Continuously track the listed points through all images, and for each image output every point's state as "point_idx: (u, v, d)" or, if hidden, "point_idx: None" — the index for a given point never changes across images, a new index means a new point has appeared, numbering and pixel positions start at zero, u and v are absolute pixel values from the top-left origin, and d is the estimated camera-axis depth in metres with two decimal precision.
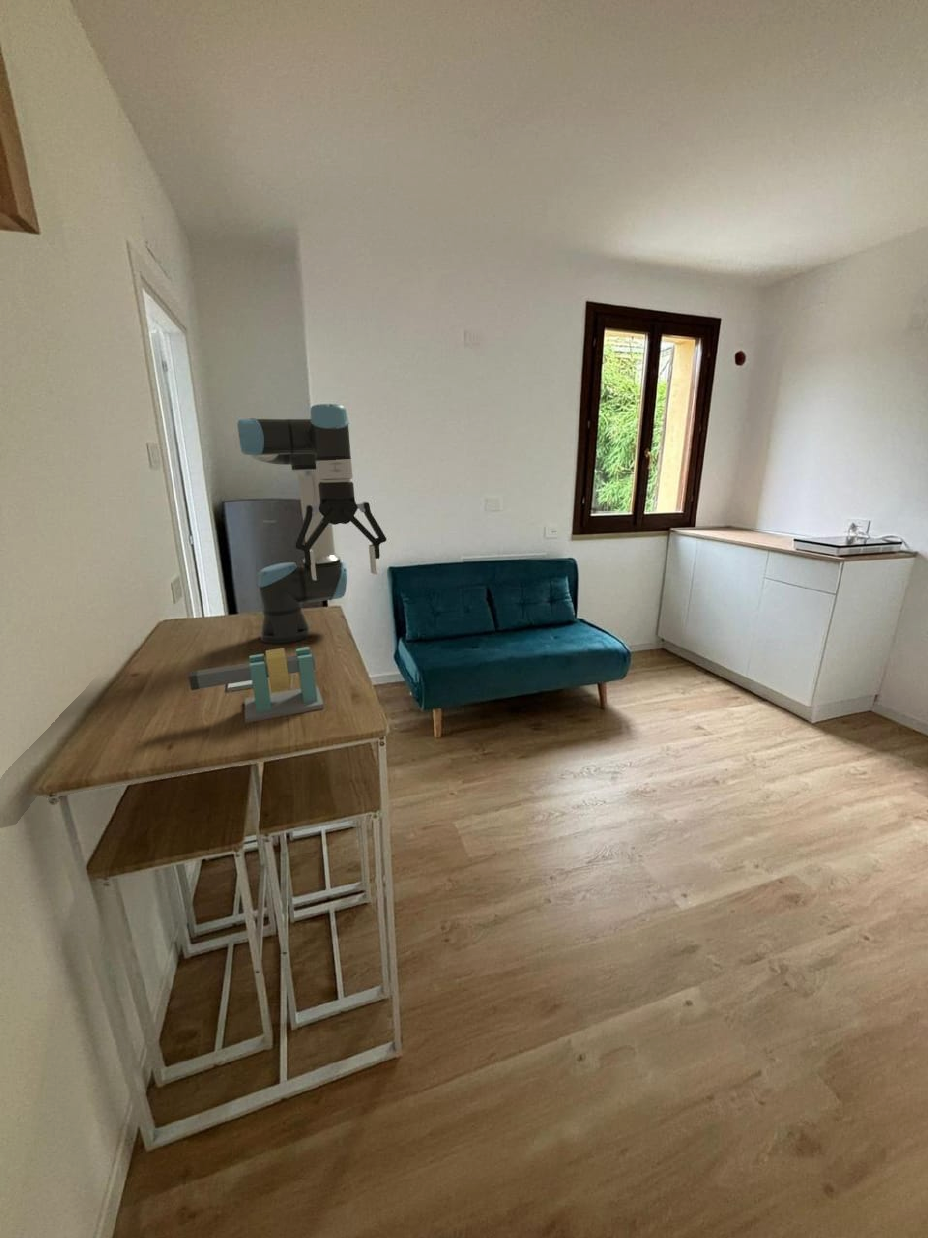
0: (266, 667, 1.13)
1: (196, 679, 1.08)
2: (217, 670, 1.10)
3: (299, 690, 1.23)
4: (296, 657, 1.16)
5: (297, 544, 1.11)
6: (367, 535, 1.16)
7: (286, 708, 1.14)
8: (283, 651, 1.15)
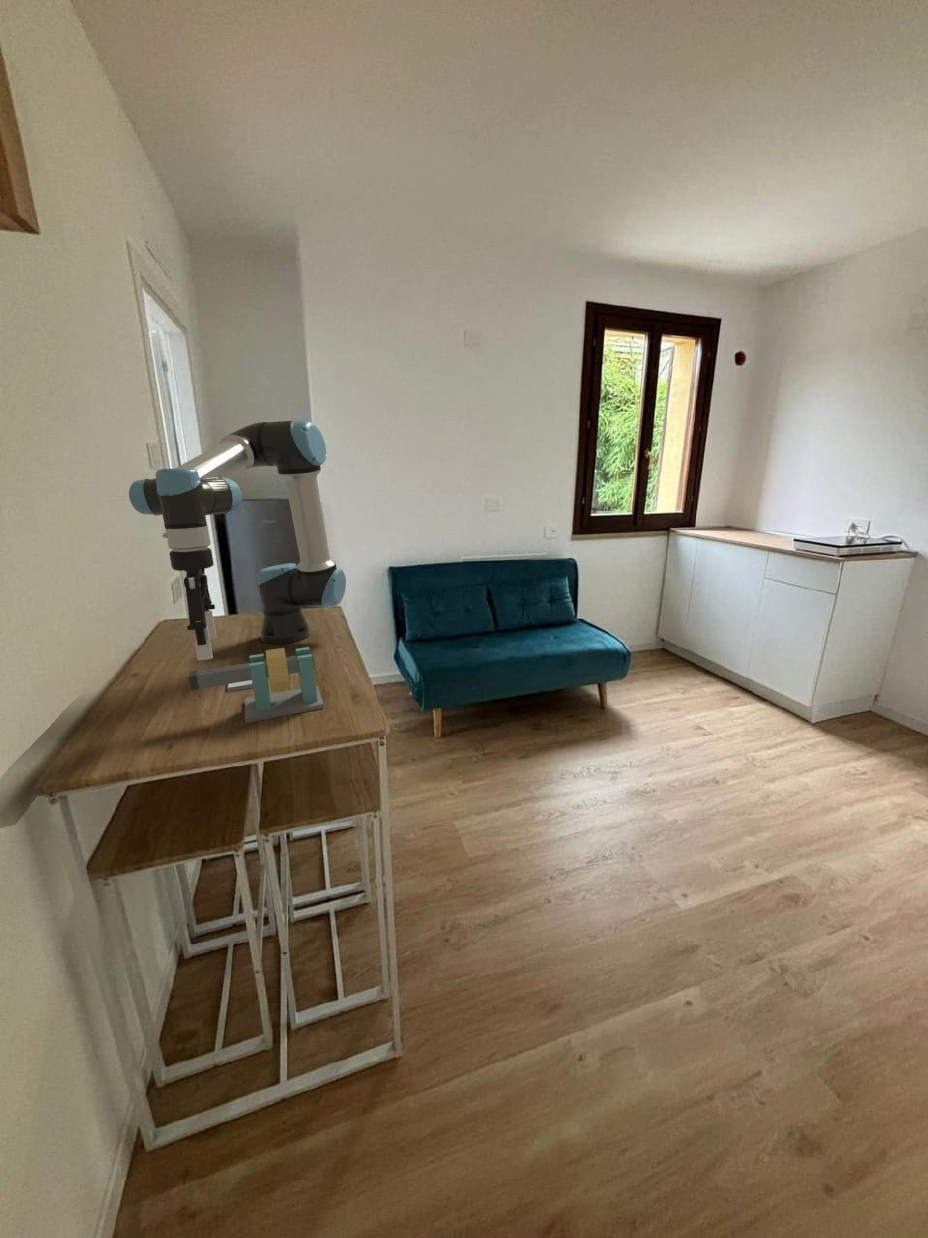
0: (266, 667, 1.13)
1: (196, 679, 1.08)
2: (217, 670, 1.10)
3: (299, 690, 1.23)
4: (296, 657, 1.16)
5: None
6: None
7: (286, 708, 1.14)
8: (283, 651, 1.15)
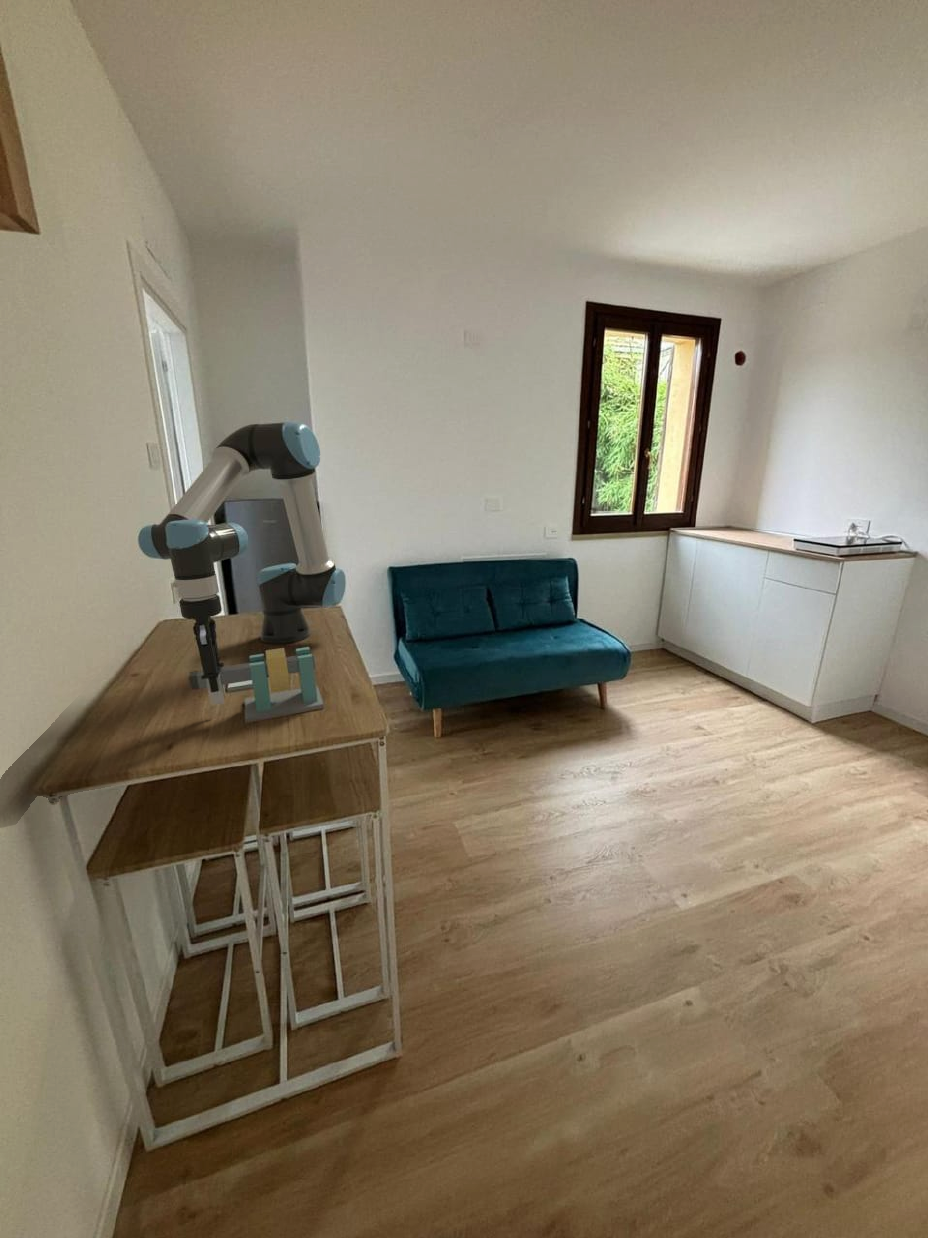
0: (266, 667, 1.13)
1: (196, 679, 1.08)
2: None
3: (299, 690, 1.23)
4: (296, 657, 1.16)
5: None
6: None
7: (286, 708, 1.14)
8: (283, 651, 1.15)
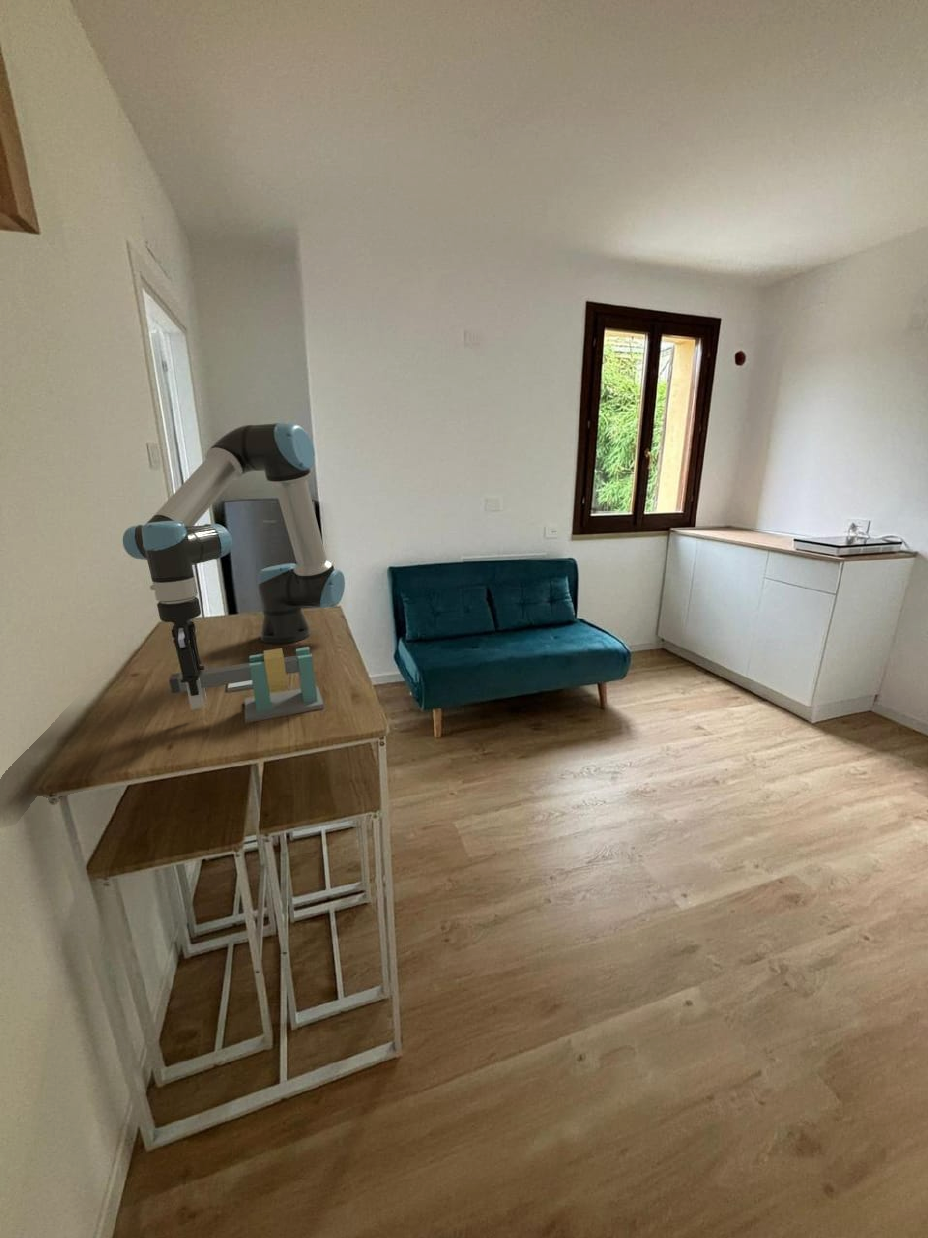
0: (248, 670, 1.11)
1: (177, 682, 1.06)
2: (199, 673, 1.09)
3: (299, 690, 1.23)
4: None
5: None
6: None
7: (286, 708, 1.14)
8: (281, 651, 1.15)
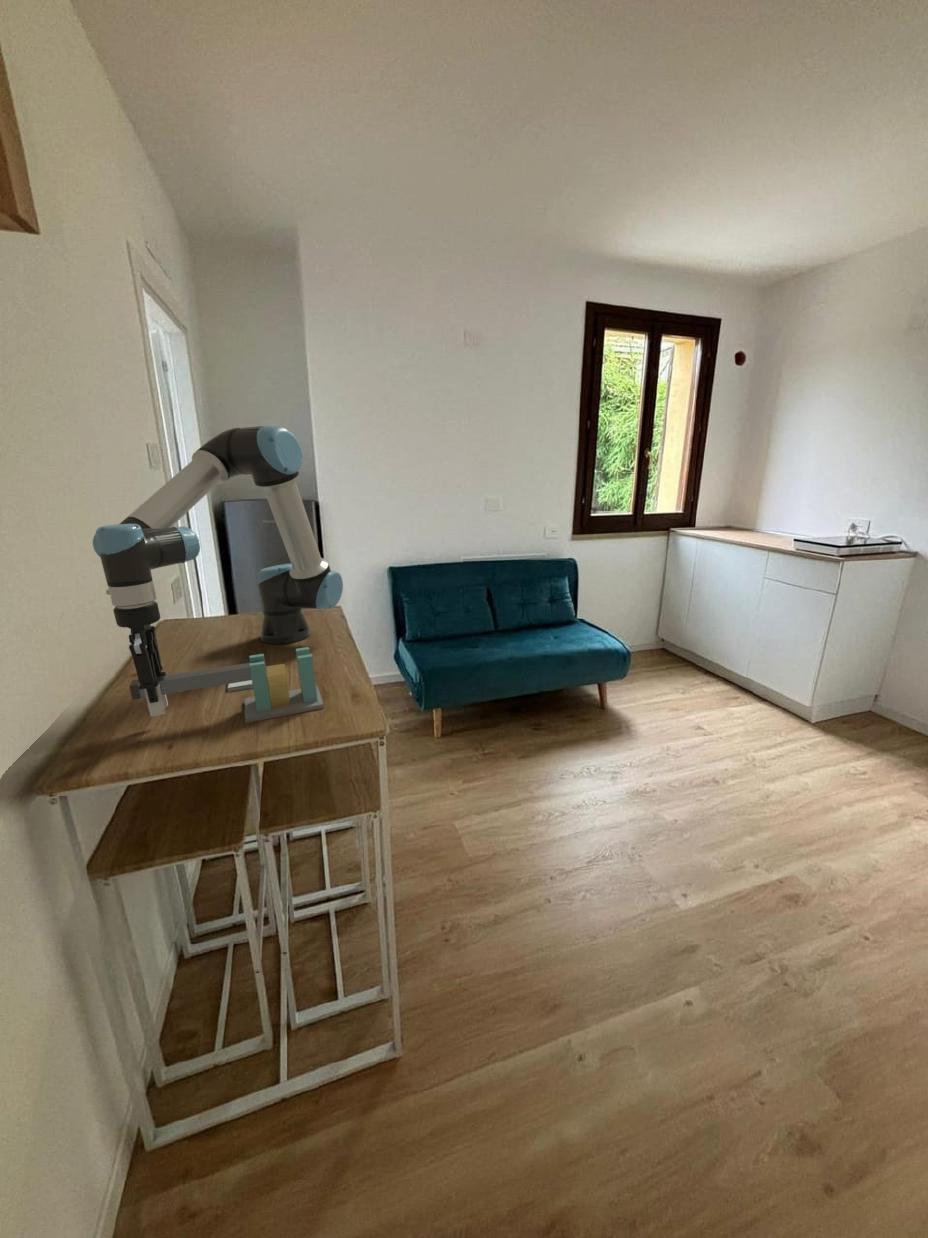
0: (212, 675, 1.09)
1: (137, 688, 1.04)
2: (160, 679, 1.06)
3: (299, 690, 1.23)
4: (245, 665, 1.12)
5: None
6: None
7: (286, 708, 1.14)
8: (283, 667, 1.16)
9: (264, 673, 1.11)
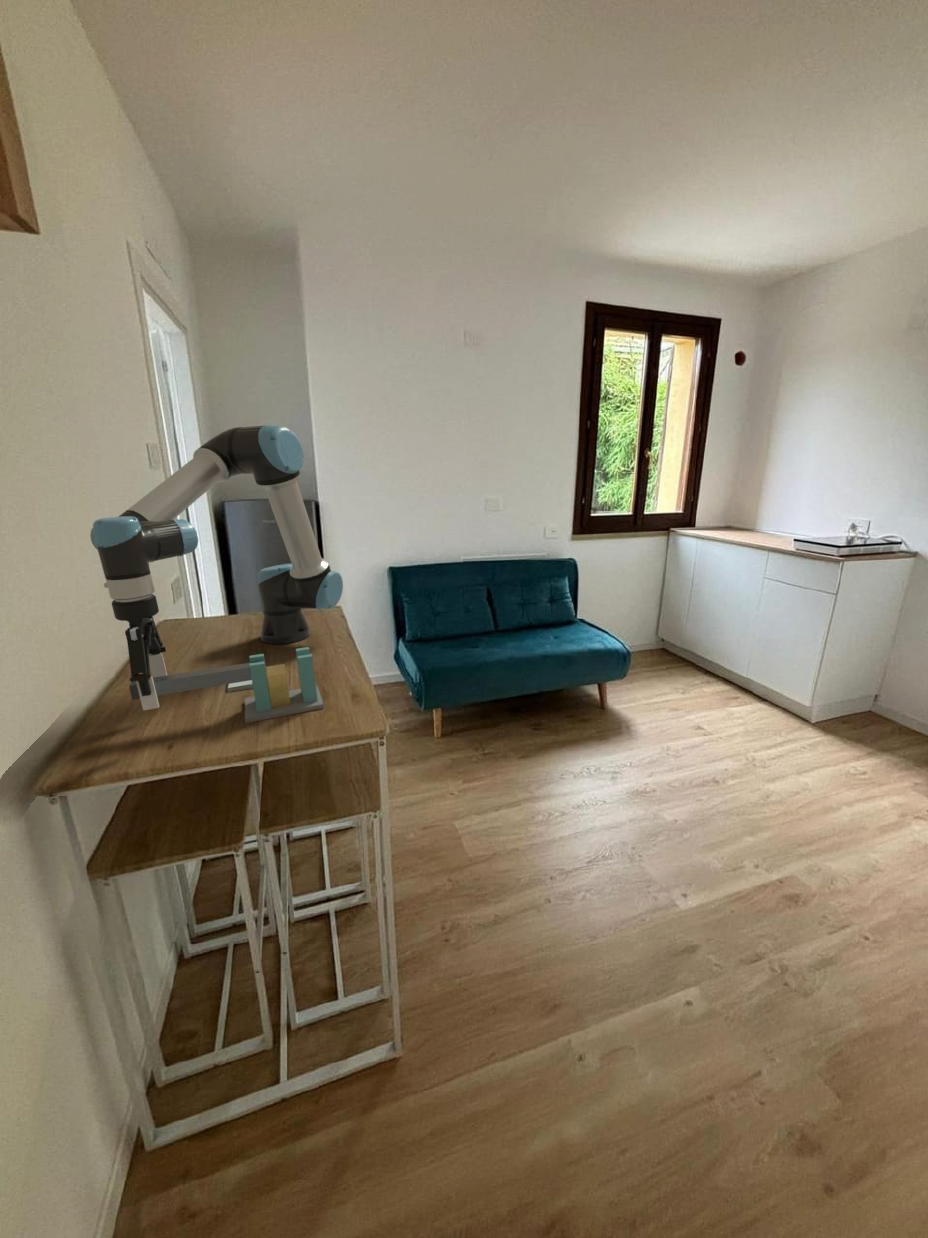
0: (212, 676, 1.09)
1: (137, 688, 1.04)
2: (160, 679, 1.06)
3: (299, 690, 1.23)
4: (245, 665, 1.12)
5: None
6: None
7: (286, 708, 1.14)
8: (283, 668, 1.16)
9: (264, 673, 1.11)
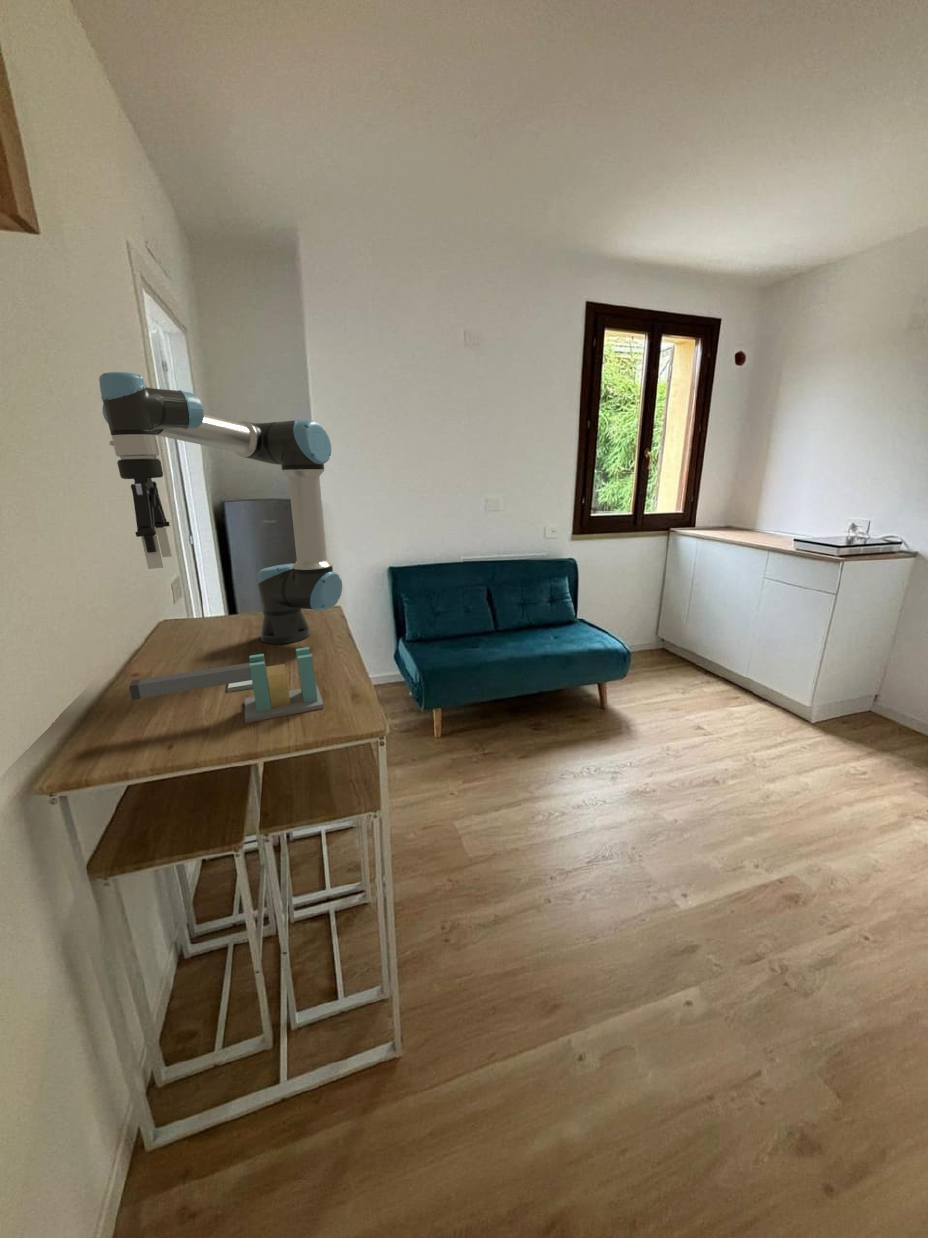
0: (212, 676, 1.09)
1: (137, 688, 1.04)
2: (160, 679, 1.06)
3: (299, 690, 1.23)
4: (245, 665, 1.12)
5: None
6: None
7: (286, 708, 1.14)
8: (283, 668, 1.16)
9: (264, 673, 1.11)
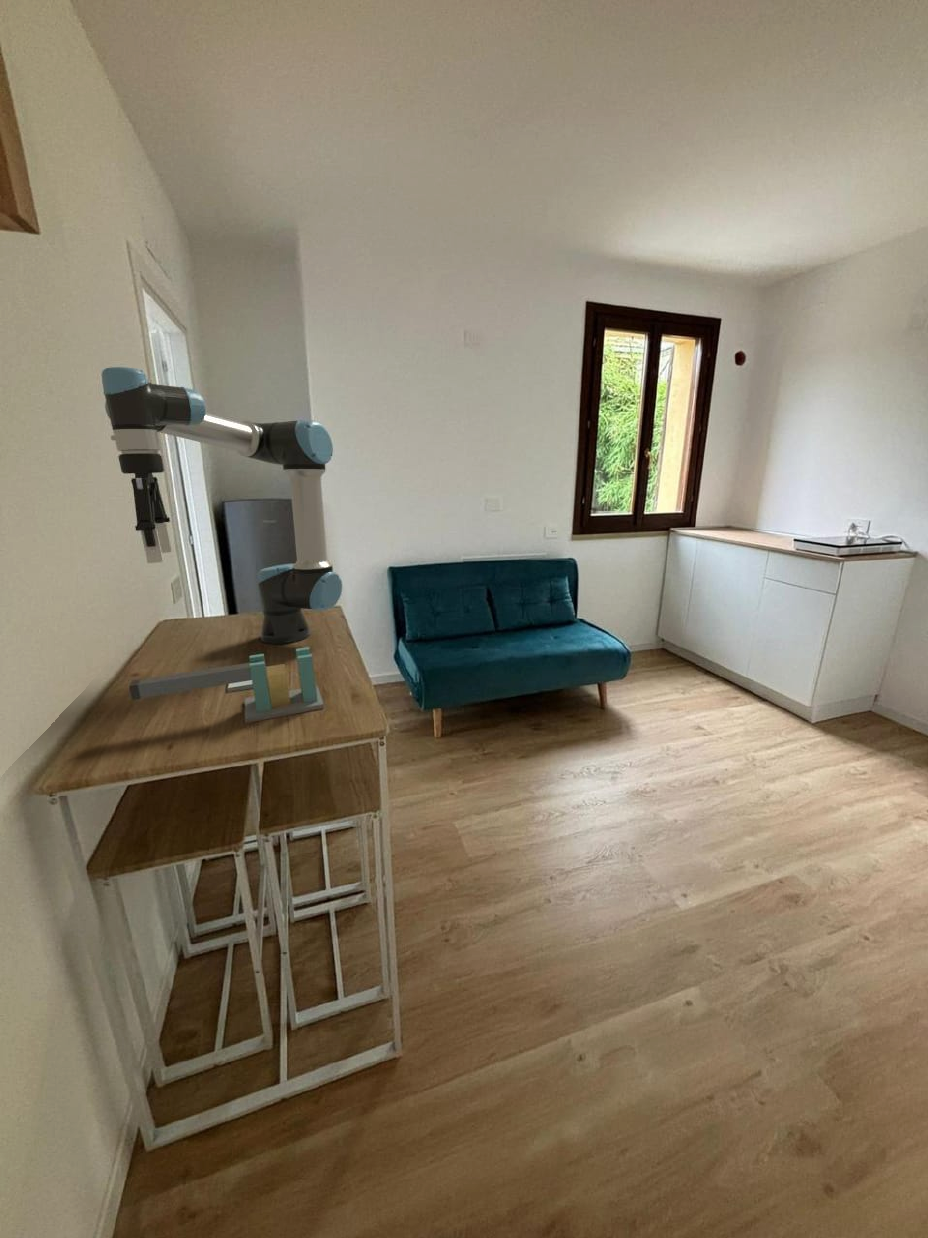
0: (212, 676, 1.09)
1: (137, 688, 1.04)
2: (160, 679, 1.06)
3: (299, 690, 1.23)
4: (245, 665, 1.12)
5: None
6: None
7: (286, 708, 1.14)
8: (283, 668, 1.16)
9: (264, 673, 1.11)
